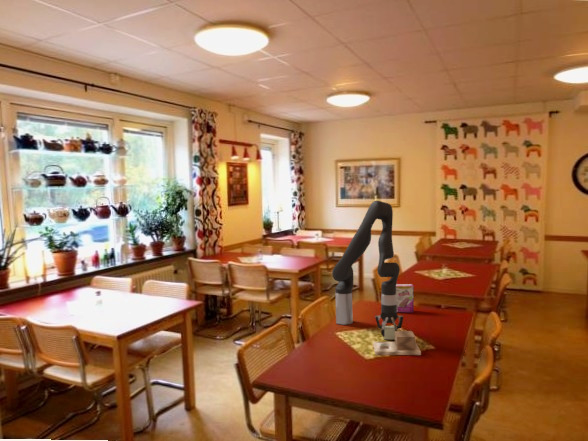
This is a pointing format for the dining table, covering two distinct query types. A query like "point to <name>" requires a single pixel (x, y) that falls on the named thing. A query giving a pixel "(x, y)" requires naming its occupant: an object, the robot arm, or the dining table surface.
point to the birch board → (393, 349)
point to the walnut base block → (404, 340)
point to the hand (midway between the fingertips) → (389, 336)
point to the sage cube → (389, 332)
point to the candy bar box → (405, 298)
